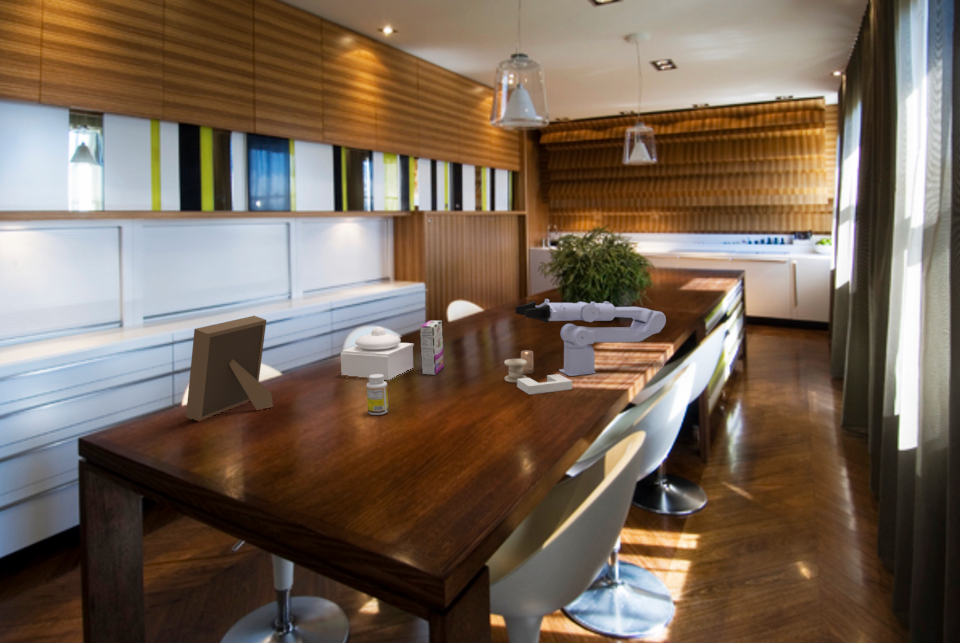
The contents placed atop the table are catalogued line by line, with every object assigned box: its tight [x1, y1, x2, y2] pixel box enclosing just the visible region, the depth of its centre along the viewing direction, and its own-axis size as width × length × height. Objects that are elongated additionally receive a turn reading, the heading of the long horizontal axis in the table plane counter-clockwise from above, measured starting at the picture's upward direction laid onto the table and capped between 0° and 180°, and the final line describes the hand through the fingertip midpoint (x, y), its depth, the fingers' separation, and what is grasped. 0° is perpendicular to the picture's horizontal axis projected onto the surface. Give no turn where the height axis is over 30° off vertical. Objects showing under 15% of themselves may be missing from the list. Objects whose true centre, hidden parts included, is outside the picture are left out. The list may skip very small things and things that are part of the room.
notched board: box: [516, 373, 573, 395], centre depth 195 cm, size 14×9×2 cm, turn 110°
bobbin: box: [504, 358, 528, 384], centre depth 205 cm, size 7×7×6 cm
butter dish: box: [339, 326, 415, 381], centre depth 217 cm, size 18×18×16 cm
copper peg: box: [520, 349, 534, 375], centre depth 214 cm, size 4×4×7 cm
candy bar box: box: [419, 320, 445, 376], centre depth 217 cm, size 11×5×16 cm, turn 168°
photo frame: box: [185, 315, 274, 421], centre depth 176 cm, size 15×22×25 cm
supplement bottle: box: [365, 374, 390, 416], centre depth 174 cm, size 6×6×10 cm
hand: (520, 311), depth 202 cm, fingers open, 7 cm apart
